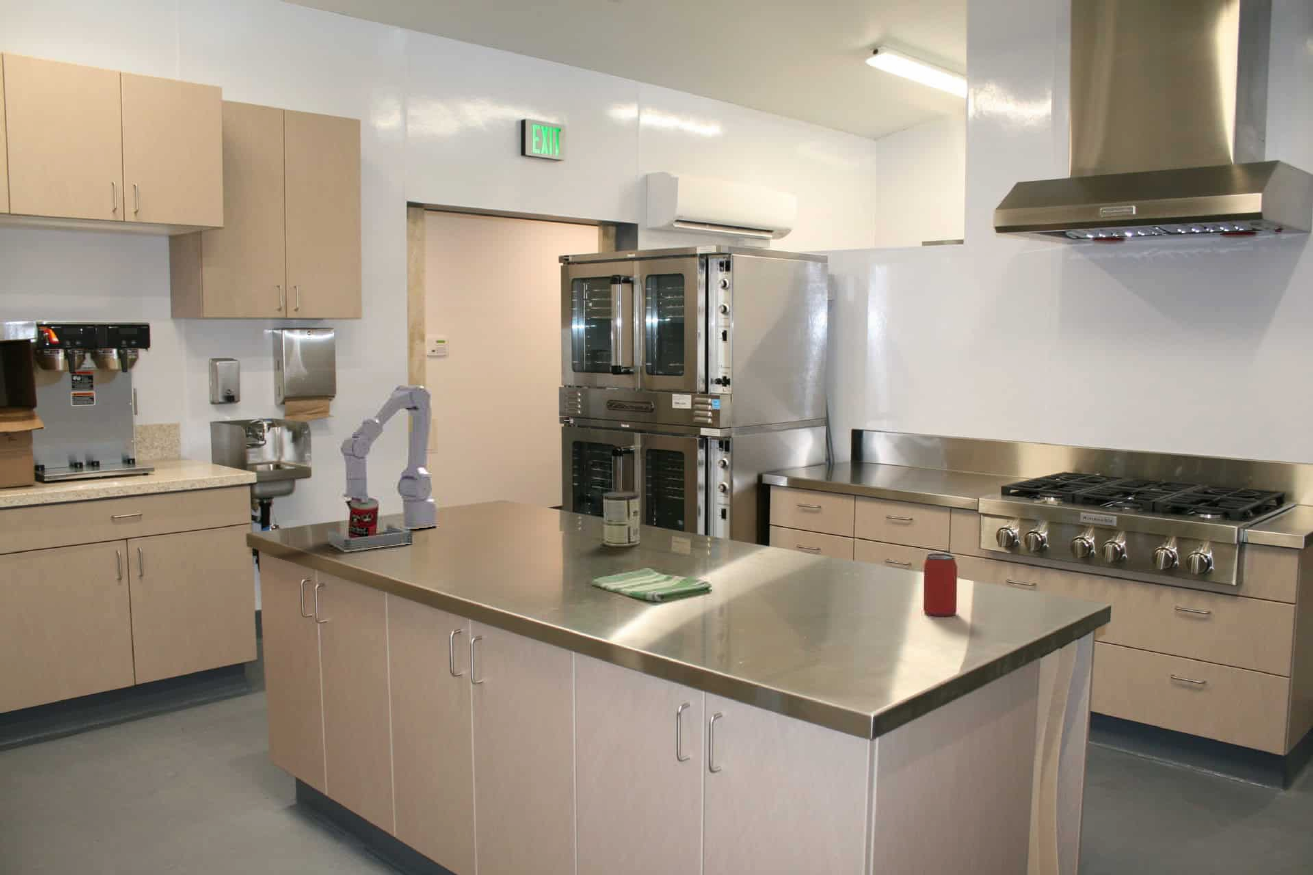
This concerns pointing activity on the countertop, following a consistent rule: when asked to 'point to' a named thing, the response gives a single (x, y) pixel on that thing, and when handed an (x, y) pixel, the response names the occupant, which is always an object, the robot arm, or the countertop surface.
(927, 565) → the beer can
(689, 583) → the dish towel
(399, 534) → the tray
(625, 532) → the coffee can
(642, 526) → the countertop surface
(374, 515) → the canned food
